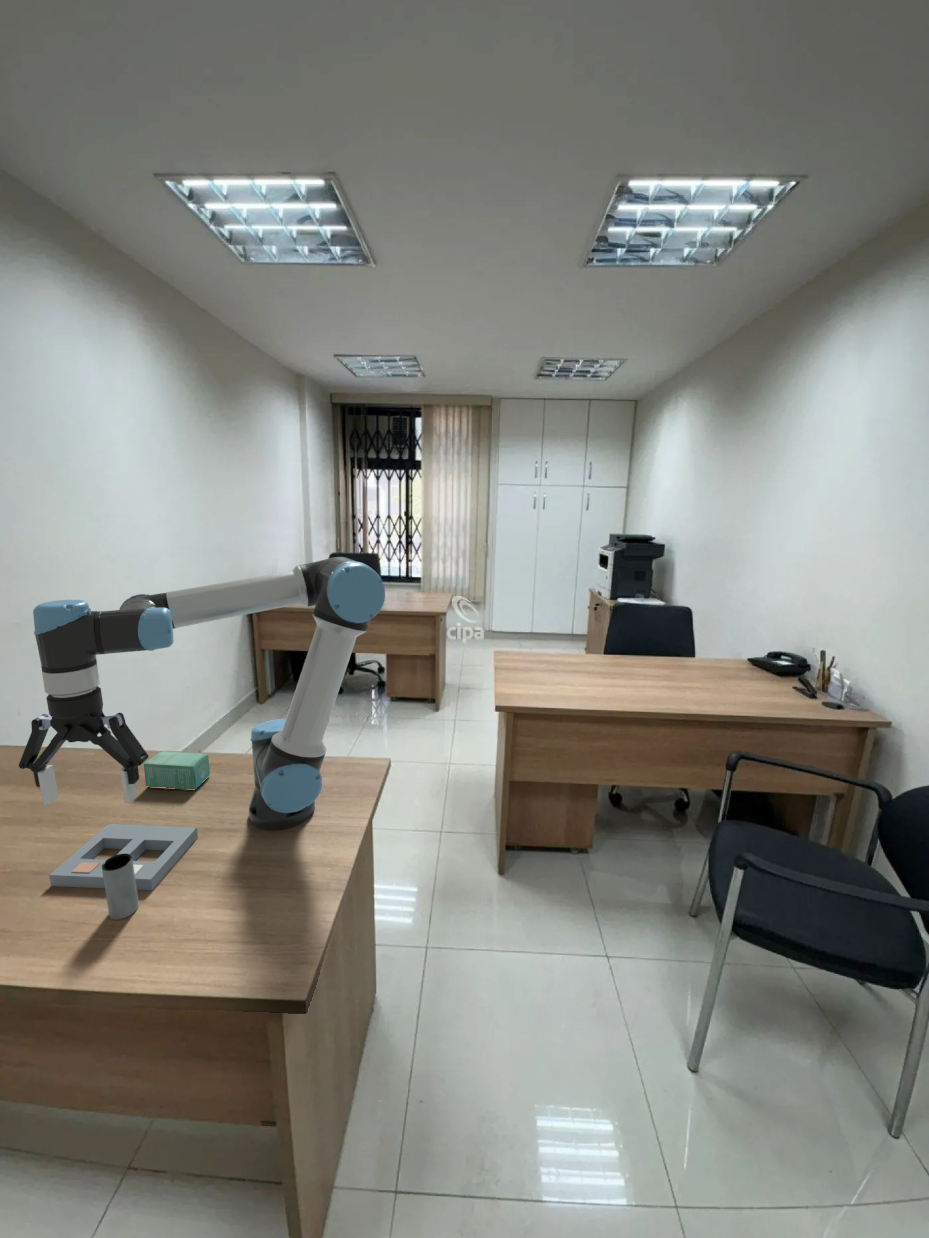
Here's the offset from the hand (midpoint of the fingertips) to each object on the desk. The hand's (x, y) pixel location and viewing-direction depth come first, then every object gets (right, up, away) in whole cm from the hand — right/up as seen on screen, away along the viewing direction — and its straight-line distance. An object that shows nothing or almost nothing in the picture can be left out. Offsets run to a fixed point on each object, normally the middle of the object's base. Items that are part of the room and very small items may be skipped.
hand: (91, 800), depth 92 cm
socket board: (-2, -17, +14) cm, 22 cm away
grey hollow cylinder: (+5, -21, +1) cm, 21 cm away
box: (-8, -11, +43) cm, 45 cm away
